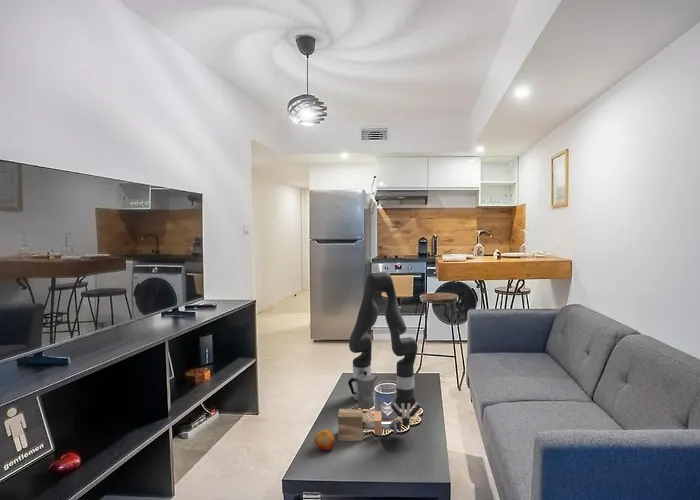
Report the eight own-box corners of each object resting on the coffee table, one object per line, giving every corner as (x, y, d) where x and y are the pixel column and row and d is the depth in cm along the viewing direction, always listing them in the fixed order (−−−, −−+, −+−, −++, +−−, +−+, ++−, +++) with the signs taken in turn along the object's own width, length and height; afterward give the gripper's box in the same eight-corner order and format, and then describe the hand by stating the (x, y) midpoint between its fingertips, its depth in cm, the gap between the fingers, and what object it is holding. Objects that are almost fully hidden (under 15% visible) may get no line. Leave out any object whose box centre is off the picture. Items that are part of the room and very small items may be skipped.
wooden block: (339, 431, 187) (339, 408, 187) (363, 431, 187) (362, 408, 186) (338, 440, 179) (337, 417, 179) (362, 440, 179) (362, 417, 178)
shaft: (358, 428, 186) (357, 416, 185) (400, 429, 185) (400, 416, 184) (357, 435, 180) (357, 422, 180) (401, 435, 179) (401, 422, 179)
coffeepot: (375, 401, 218) (374, 366, 216) (382, 409, 209) (381, 372, 207) (346, 406, 213) (345, 370, 212) (351, 414, 204) (350, 376, 203)
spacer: (374, 424, 186) (374, 411, 185) (381, 424, 186) (381, 411, 185) (374, 434, 180) (374, 420, 178) (381, 434, 179) (381, 420, 178)
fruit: (338, 438, 178) (335, 427, 174) (333, 457, 172) (330, 445, 168) (320, 436, 180) (316, 425, 176) (314, 454, 174) (310, 442, 170)
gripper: (420, 382, 184) (420, 421, 185) (388, 382, 185) (389, 421, 186) (422, 388, 177) (422, 430, 178) (389, 388, 177) (390, 430, 178)
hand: (405, 425), depth 182 cm, fingers closed
